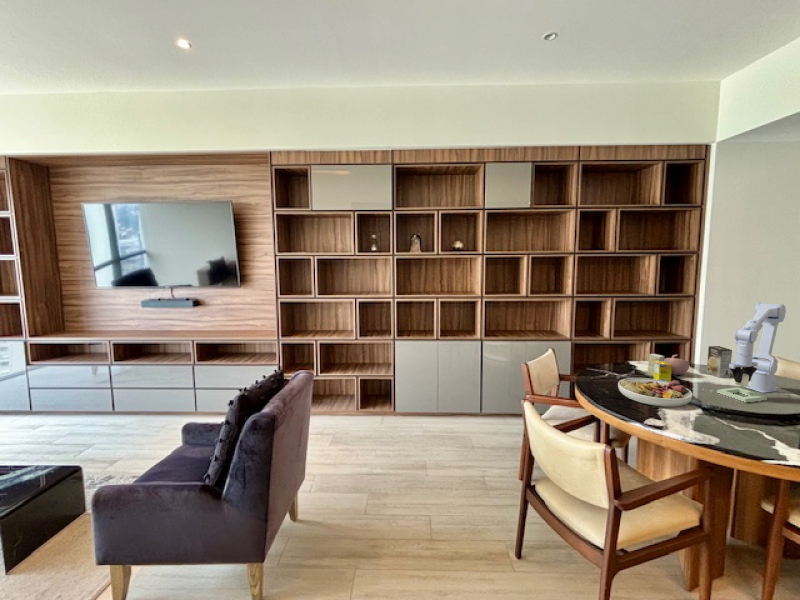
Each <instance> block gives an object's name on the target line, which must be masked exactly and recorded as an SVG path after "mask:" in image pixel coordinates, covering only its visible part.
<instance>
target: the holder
mask: <svg viewBox="0 0 800 600" xmlns="http://www.w3.org/2000/svg"><path fill="white" fill-rule="evenodd" d="M738 392H739V393H738ZM717 393H720V394H723V395H726V396H729V397H732V398H735V399H738V400H741V401H744V402H750V401H758V402H762V401H761V400H766V401H767V398H768V396H767V395H763V394H761V393H756V392H754V391H752V390H751V391H750V390H747V389H746V388H745V389H744V388H742V387H737V386H736V387H729V388H721V389H716V394H717ZM733 393H734V394H733ZM740 393H742V394H741V395H739V394H740ZM720 394H719V395H720ZM743 394H745V395H744V396H742V395H743ZM746 395H748V396H746Z"/></svg>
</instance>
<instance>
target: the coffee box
mask: <svg viewBox="0 0 800 600" xmlns="http://www.w3.org/2000/svg"><path fill="white" fill-rule="evenodd" d="M707 349H708V351H707V362H706V363H707V364H706V374H709V375H712V376H714V377H717V378H718V379H726V378H730V377H731V369H730V368H729V364H732V357H733V349H730V348H727V347H723V346H721V345H716V346H715V345H713V346H712V345H710V346H708V348H707Z"/></svg>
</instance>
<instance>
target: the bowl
mask: <svg viewBox="0 0 800 600" xmlns="http://www.w3.org/2000/svg"><path fill="white" fill-rule="evenodd" d="M617 388H618V390H619V392H620V393H621V394H622V395H623V396H624V397H626V398H628V399H630V400H631V401H635V402H638V403H640V404H644V405H649V406H654V407H662V408H676V407H677V408H678V407H682V406H685V405H687V404H689V403H690V402H691V401H692V399H693V392H692V391H691V389H689V388H686V387H685V386H684V385H681V382H680V381H679V380H676V379H674V380H671V382H667V381H662V380H656V379H654V378H647V377H628V378H622V379H620V380H619V381H618V383H617Z"/></svg>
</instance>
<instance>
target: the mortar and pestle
mask: <svg viewBox="0 0 800 600" xmlns="http://www.w3.org/2000/svg"><path fill="white" fill-rule="evenodd" d="M676 357H679V355H678V354H673V355H671V357H666V358H665V357H664V362H668V363H669V364H671V365H672V366H671V375H672V374H673V375H677V376H679V375H683V374H686V373H687V372H688V370H689V369H690V361H688V360H685V359H683V358H676Z"/></svg>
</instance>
